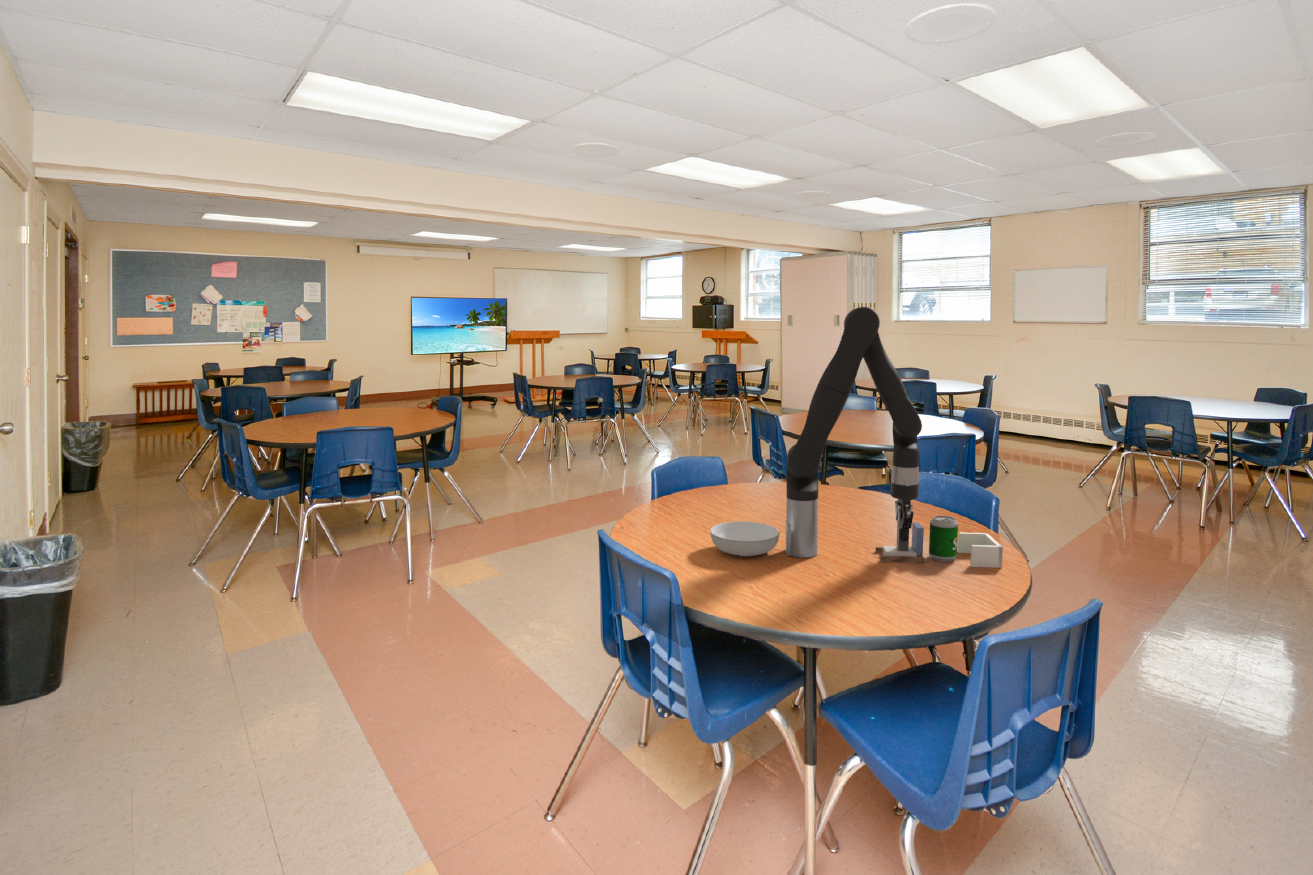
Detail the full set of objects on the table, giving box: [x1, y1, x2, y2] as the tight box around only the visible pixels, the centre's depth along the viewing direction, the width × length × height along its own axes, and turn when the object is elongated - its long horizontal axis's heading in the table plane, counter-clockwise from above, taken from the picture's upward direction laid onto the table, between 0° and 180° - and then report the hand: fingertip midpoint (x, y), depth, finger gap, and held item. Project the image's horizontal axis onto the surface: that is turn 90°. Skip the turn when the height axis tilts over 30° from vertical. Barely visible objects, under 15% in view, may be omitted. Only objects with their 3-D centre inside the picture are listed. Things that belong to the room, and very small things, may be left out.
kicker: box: [882, 517, 925, 557], centre depth 195 cm, size 10×6×12 cm, turn 81°
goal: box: [957, 531, 1004, 569], centre depth 192 cm, size 8×13×6 cm, turn 171°
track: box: [875, 546, 926, 564], centre depth 196 cm, size 12×9×2 cm
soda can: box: [928, 515, 959, 563], centre depth 193 cm, size 8×8×12 cm
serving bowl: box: [709, 520, 781, 557], centre depth 203 cm, size 21×21×7 cm
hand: (902, 538), depth 195 cm, fingers closed on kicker, 3 cm apart
